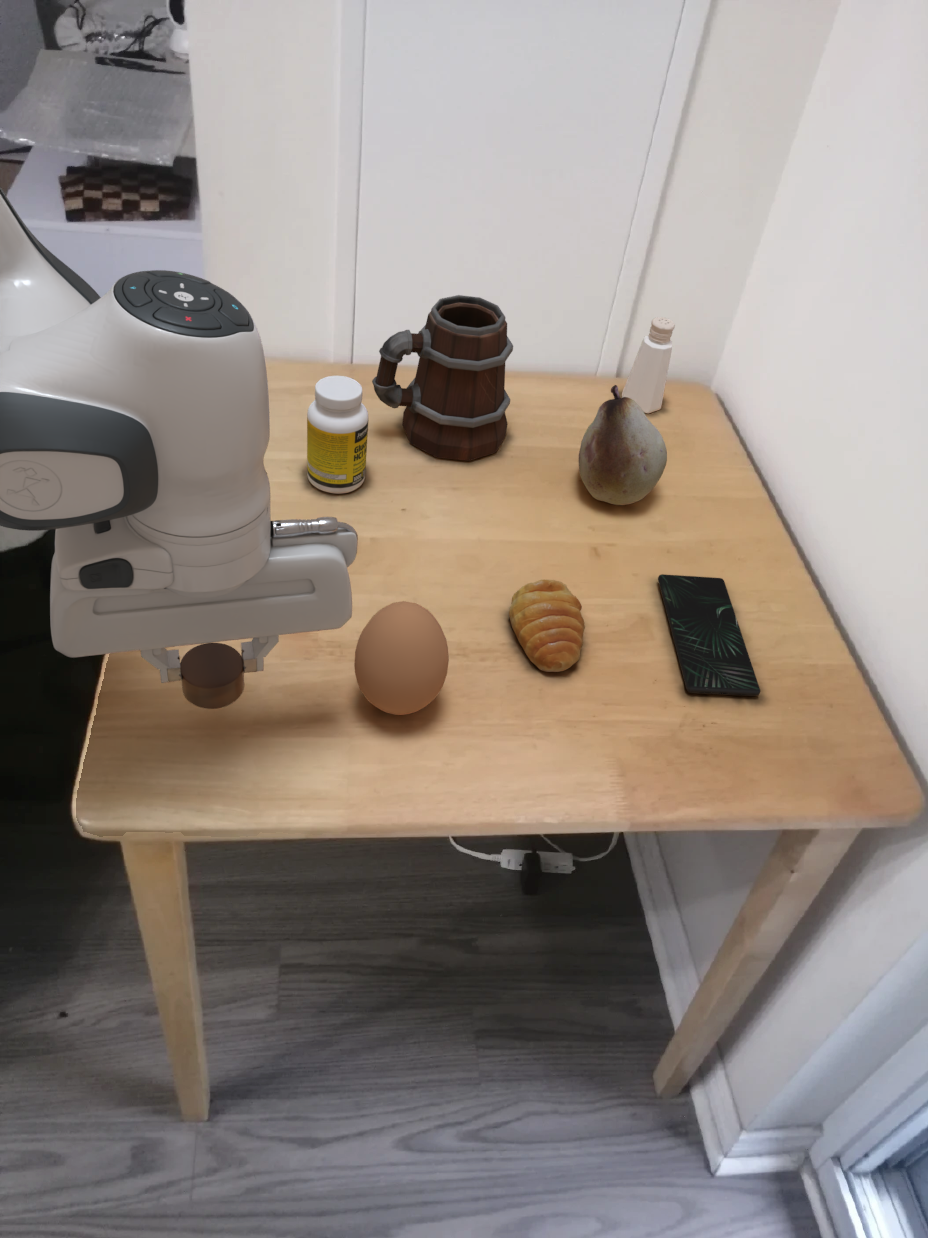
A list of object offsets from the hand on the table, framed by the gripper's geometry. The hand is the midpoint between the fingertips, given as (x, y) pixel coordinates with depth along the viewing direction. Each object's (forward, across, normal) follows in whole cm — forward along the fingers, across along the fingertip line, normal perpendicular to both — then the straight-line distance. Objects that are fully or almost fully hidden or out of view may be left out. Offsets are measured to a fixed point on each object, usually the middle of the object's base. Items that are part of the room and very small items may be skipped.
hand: (211, 670), depth 70 cm
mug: (+7, -29, -39) cm, 49 cm away
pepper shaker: (+6, -57, -42) cm, 71 cm away
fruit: (+7, -46, -26) cm, 53 cm away
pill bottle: (+7, -16, -32) cm, 36 cm away
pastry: (+7, -31, -6) cm, 32 cm away
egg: (+7, -15, 0) cm, 17 cm away
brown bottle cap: (+2, 0, 0) cm, 2 cm away
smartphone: (+6, -46, -3) cm, 46 cm away
